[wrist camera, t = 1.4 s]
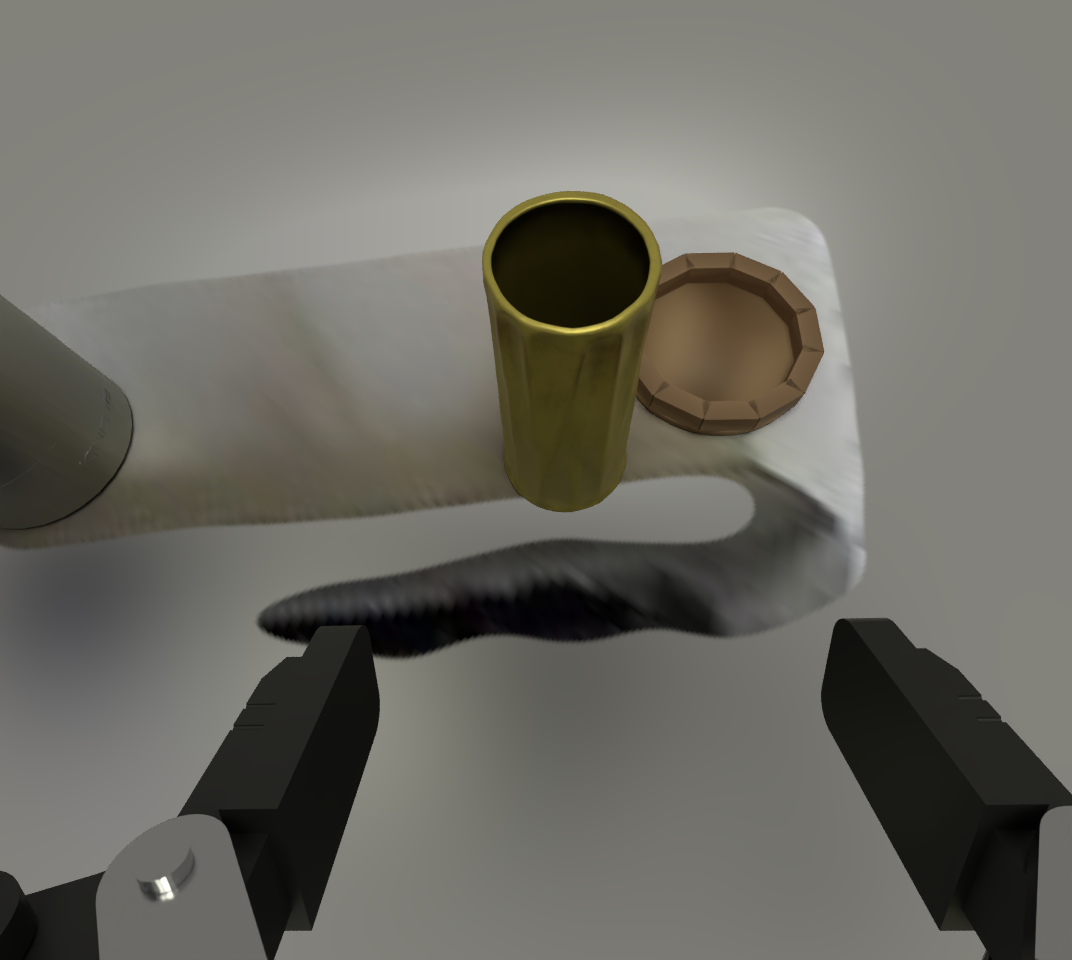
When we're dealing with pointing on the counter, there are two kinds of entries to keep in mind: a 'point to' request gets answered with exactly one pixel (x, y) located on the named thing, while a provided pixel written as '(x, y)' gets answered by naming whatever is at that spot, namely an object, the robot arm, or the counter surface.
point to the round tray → (727, 345)
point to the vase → (569, 340)
